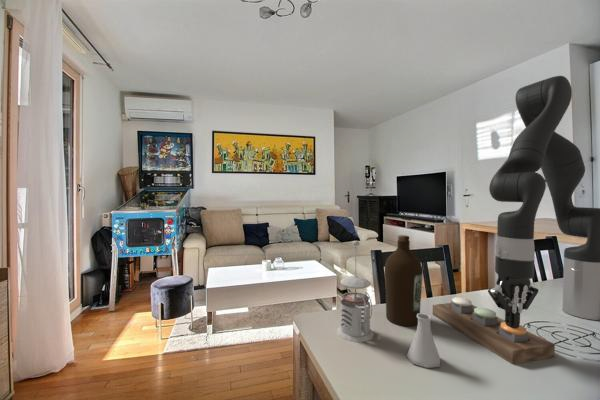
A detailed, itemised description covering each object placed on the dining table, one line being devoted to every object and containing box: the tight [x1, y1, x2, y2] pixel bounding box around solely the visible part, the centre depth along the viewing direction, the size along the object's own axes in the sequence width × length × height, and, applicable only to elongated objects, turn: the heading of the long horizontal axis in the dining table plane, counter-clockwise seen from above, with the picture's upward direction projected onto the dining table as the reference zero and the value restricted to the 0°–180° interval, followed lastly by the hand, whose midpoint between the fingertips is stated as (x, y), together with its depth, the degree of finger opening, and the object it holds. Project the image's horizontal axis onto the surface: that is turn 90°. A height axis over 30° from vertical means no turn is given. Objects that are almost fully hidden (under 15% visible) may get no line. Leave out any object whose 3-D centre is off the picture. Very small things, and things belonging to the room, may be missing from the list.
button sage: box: [472, 307, 498, 327], centre depth 77 cm, size 5×5×4 cm
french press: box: [336, 240, 374, 343], centre depth 76 cm, size 10×12×25 cm
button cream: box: [450, 296, 473, 314], centre depth 84 cm, size 5×5×4 cm
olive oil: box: [384, 234, 424, 327], centre depth 84 cm, size 11×11×25 cm
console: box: [432, 302, 556, 365], centre depth 77 cm, size 12×26×3 cm, turn 13°
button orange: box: [499, 322, 528, 343], centre depth 69 cm, size 5×5×4 cm
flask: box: [406, 312, 441, 369], centre depth 64 cm, size 7×7×10 cm
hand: (512, 326), depth 69 cm, fingers closed
